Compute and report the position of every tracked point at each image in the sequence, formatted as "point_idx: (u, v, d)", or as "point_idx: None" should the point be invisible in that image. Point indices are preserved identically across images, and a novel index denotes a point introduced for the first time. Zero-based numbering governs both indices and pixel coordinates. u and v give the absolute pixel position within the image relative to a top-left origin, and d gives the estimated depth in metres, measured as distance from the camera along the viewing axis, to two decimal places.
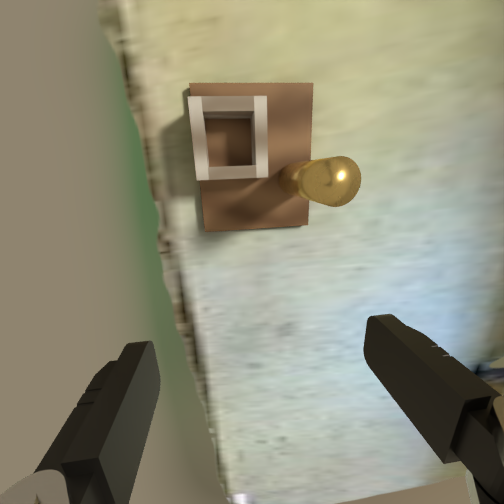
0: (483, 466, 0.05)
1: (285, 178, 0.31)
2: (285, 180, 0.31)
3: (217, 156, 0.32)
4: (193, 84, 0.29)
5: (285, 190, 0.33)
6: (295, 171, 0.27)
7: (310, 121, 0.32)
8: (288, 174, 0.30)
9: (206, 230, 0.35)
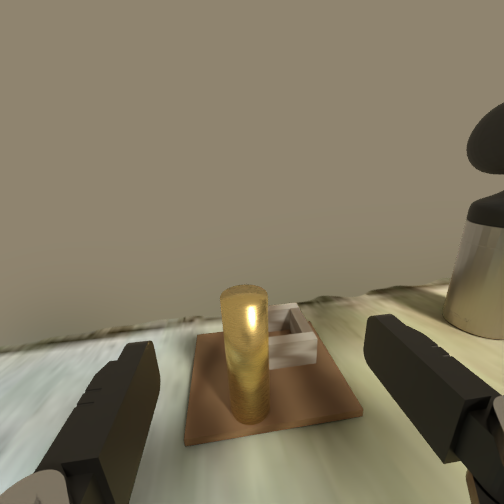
0: (483, 466, 0.05)
1: None
2: None
3: None
4: (310, 323, 0.40)
5: None
6: None
7: (322, 414, 0.25)
8: None
9: (198, 335, 0.38)
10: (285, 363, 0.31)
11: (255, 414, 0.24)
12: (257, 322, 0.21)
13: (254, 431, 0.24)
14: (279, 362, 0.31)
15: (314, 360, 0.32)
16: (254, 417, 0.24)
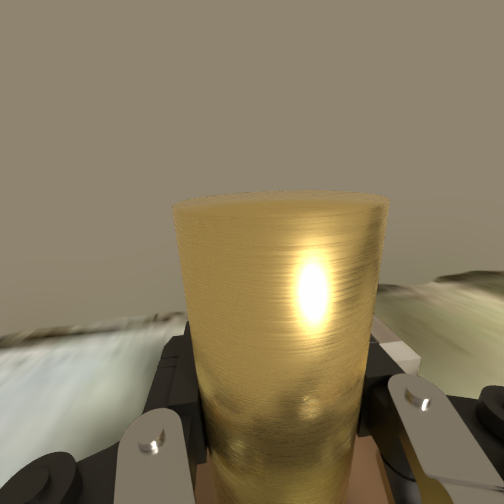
0: (387, 445, 0.06)
1: None
2: None
3: None
4: None
5: None
6: None
7: None
8: None
9: None
10: None
11: None
12: (355, 308, 0.04)
13: None
14: None
15: None
16: None
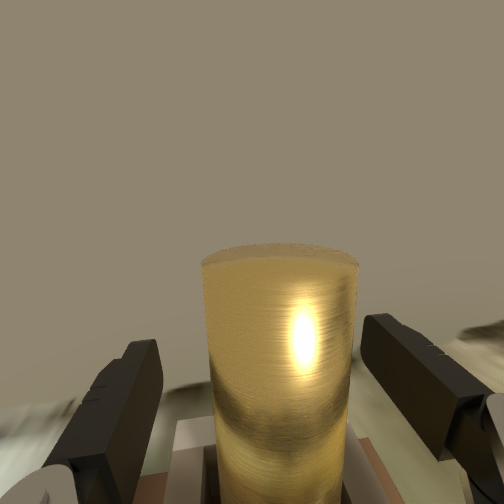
0: (477, 464, 0.05)
1: None
2: None
3: None
4: (370, 446, 0.15)
5: None
6: None
7: None
8: None
9: None
10: None
11: None
12: (334, 346, 0.06)
13: None
14: None
15: None
16: None
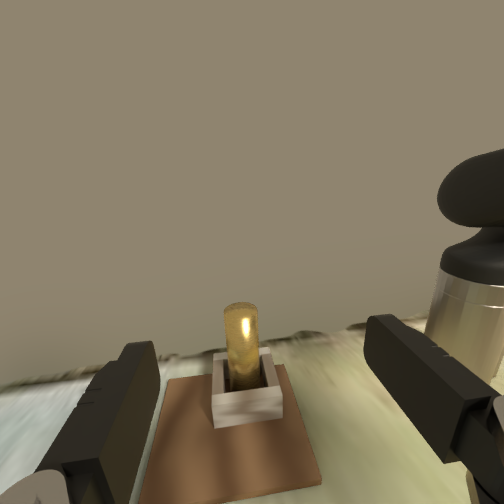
0: (483, 466, 0.05)
1: None
2: None
3: None
4: (283, 366, 0.40)
5: None
6: None
7: (279, 483, 0.25)
8: None
9: (170, 380, 0.38)
10: (250, 419, 0.31)
11: None
12: (249, 330, 0.30)
13: (209, 503, 0.24)
14: (244, 418, 0.31)
15: (280, 415, 0.31)
16: None
